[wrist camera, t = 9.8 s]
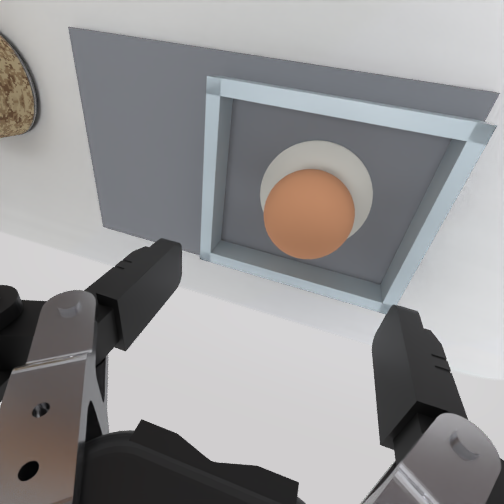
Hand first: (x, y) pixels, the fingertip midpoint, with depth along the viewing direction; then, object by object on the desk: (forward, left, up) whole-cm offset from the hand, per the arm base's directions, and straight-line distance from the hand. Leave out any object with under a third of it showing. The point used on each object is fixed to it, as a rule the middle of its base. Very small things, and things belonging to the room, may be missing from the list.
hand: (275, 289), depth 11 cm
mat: (-5, 0, -10) cm, 11 cm away
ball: (0, 0, -9) cm, 9 cm away
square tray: (0, 0, -10) cm, 9 cm away
